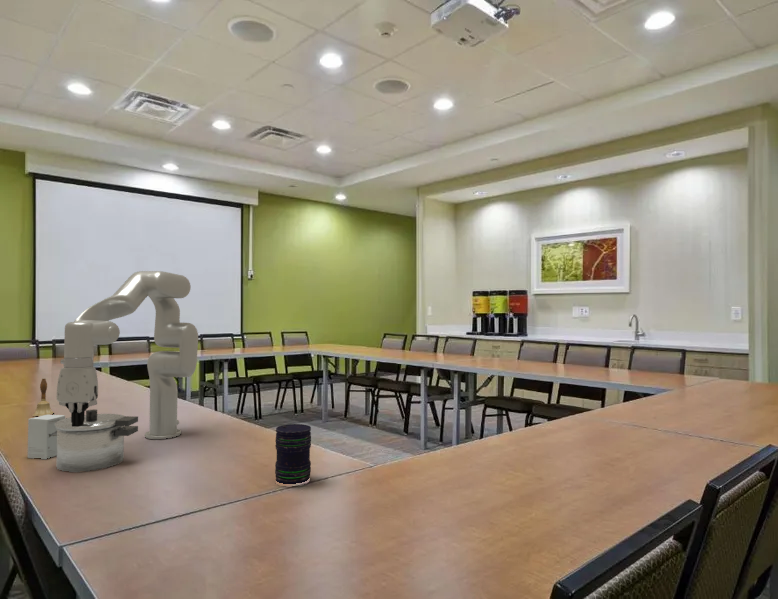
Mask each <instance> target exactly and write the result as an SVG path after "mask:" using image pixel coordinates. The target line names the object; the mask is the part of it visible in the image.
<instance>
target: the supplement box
mask: <svg viewBox="0 0 778 599" xmlns="http://www.w3.org/2000/svg"><path fill="white" fill-rule="evenodd" d="M62 419H66V414H65V415H63V414H53V415H43V416H39V417H31V418H28V419H27V421H28V423H27V425H28V427H27V458H28V459H34V458H41V459H40V460H48V459H50V457H51V458H53V457H57V429H55V423H56V422H57V421H59V420H62ZM47 458H48V459H47Z"/></svg>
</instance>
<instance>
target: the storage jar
mask: <svg viewBox="0 0 778 599" xmlns="http://www.w3.org/2000/svg"><path fill="white" fill-rule="evenodd" d="M311 430H312V427H311V426H310V425H309V424H303V423H302V424H301V423H288V424H282V425H278V426H277V427H276V428H275V432H276V433H275V445H274V446H275V450H276V461H275V469H274V474H275V480H276V481H277V482H279V483H283V484H296V483H302V482H305V481H307V480H308V479H309V478H310V479H311V472H312V471H311V470H312V468H311V465H312V462H311V459H310V458H311V457H310V456H311V455H310V454H311V452H310V451H311V448H312V447H311V446H312V433H311Z"/></svg>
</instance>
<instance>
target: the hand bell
mask: <svg viewBox="0 0 778 599" xmlns="http://www.w3.org/2000/svg"><path fill="white" fill-rule="evenodd" d="M39 386H40V387H39V389H40V392H41V395H40V401H39V402H37V405H36V409H35V412H34V413H33V414H32V415H33V416H43V415H50V414H53V413H55V412H54V411H53V410H52V409H51V406H50V402H49V401H47V400H46V397H47V396H46V393H47V390H48V389H47V388H48V382H47V379H46V378H41V380H40V385H39ZM53 415H54V414H53ZM33 416H32V417H33Z"/></svg>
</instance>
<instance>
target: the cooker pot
mask: <svg viewBox="0 0 778 599" xmlns="http://www.w3.org/2000/svg"><path fill="white" fill-rule="evenodd" d="M137 432H139V426H138V425H130V426H115V427H111V428H106V429H100V430H92V431H61V430H57V456H56V463H55V464H56V466H55V467H57V468H56V470H58V469H59V470H58V471H60V470H62V471H61V472H64V471H69V472H68V473H81V472H80V471H86V472H91V471H90V470H94V471H98V470H97V469H100V470H103V469H102V468H105V469H108V468H111V467H110V466H112V467H114V466H113V465H115V466H117V465H119V464H121V463H122V462H124V459H123V458H124V454H125V453H124V452H125V451H124V450H125V449H124V448H125V447H124V444H125V443H124V442H125V441H124V439H125V438H124V437H128V436H130V435H133V434H135V433H137ZM121 461H122V462H121ZM120 462H121V463H120ZM118 463H119V464H118ZM116 464H117V465H116ZM107 467H108V468H107Z"/></svg>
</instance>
